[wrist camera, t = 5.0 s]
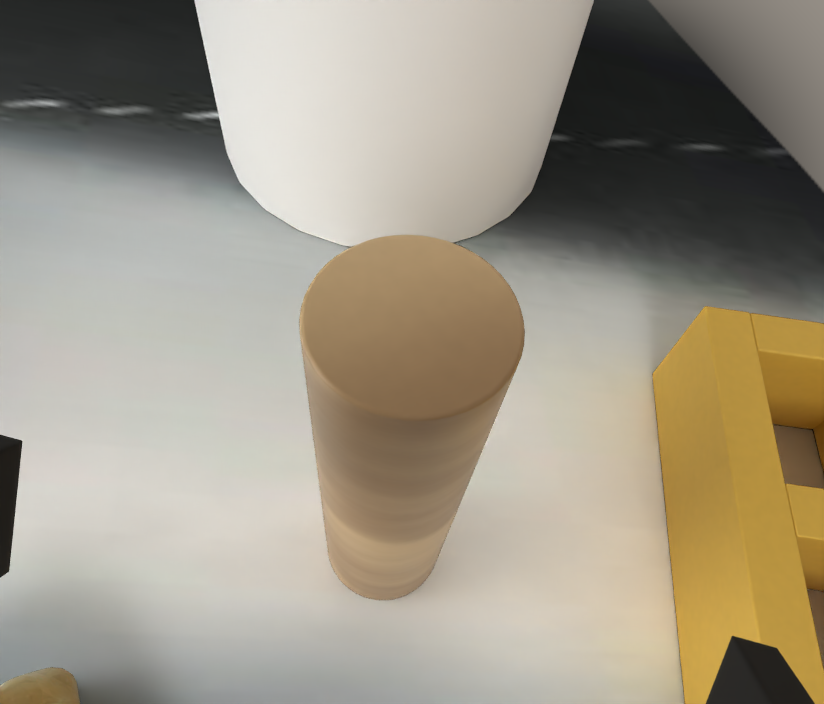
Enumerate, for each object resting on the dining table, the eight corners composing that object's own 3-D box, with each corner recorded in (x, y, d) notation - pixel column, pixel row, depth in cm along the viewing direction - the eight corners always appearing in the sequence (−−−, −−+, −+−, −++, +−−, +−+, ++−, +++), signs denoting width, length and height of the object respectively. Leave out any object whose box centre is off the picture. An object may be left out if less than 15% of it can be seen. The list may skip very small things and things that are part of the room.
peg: (307, 524, 23) (259, 283, 11) (400, 470, 25) (442, 205, 13) (364, 624, 22) (375, 463, 10) (460, 560, 23) (571, 351, 11)
